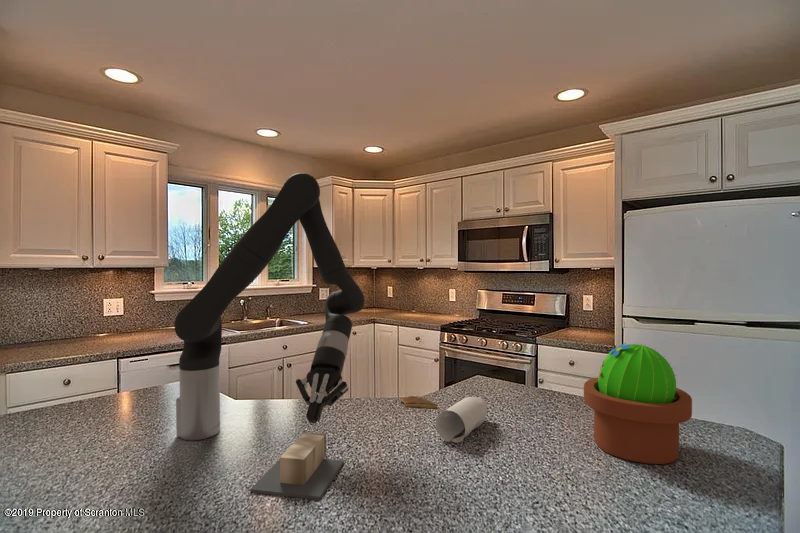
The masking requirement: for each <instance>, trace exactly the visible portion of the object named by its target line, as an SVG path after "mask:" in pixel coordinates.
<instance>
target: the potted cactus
mask: <svg viewBox="0 0 800 533" xmlns="http://www.w3.org/2000/svg"><path fill="white" fill-rule="evenodd" d="M653 348H654V347H653V346H652V347H649V346H647V345H643V343H640V344H639V343H636V344H635V343H632V344H631V343H630V344H627V343H626V342H624V343H622V344H620V345H619V346H617V347H612V349H611V350H610V351H609V352H607V354H608V355H607V356H606V357H605V359H603V361H602V365H600V371H598V373H599V374H598V377H593V378H590V379H588V380H586V381H585V382H584V383H583V401H584V403H585V404H586V405H587V406H588V407H589V408H591V409H592V410H593V440H594V442H595V444H596V446H598V449H601V450H602V451H604V452H605V453H607V454H609V455H611V456H614V457H616V458H620V459H622V460H626V461H631V462H635V463H640V464H649V465H666V464H671V463H673V462H676V460H677V459H678V458H679V455H680V424H682V423H685V422H688V421H690V419H691V418H692V416H693V399H692V397H691V395H690V394H689V393H688V392H686V391H684V390H683V389H680V388H679V387H677V384H678V382H677V380H676V374H675V371H674V370H673V369H676V368H675V367H672V366H671V363H669V362H668V360H667V359H666V358H665V356H663V355H662V354H660V353H659V352H658V351H656V349H657V348H656V347H655V348H654V349H653Z"/></svg>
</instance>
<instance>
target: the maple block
mask: <svg viewBox="0 0 800 533" xmlns="http://www.w3.org/2000/svg"><path fill="white" fill-rule="evenodd" d="M326 457H327V434H326V433H320V432H319V433H318V432H317V433H316V432H304V433H303V434H301V435H300V437H298V439H297V440H296V441H295V442H294V443H292V445H290V446H289V447H288V449H287V450H286V451H285V452H284V453H283V454H282V455H281V456H279V460H280V483H288V484H298V485H304V484H305V483H306V482H307V480H308V479H309V478H310V477H311V475H312V474H313V473H314V471H315V470H316V469H317V467H318V466H319V465H320V463H321V462H322V461H323V460H324V459H326Z"/></svg>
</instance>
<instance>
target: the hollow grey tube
mask: <svg viewBox="0 0 800 533" xmlns="http://www.w3.org/2000/svg"><path fill="white" fill-rule="evenodd" d="M488 405H489V404H488V403H487V401H486V400H485V399H483V398H482V397H481V396H479V397H476V396H467V397H464V398H463V399H461V400H460V401H457V402H456V403H454V404H453V405H452V406H449V407H448V408H447V409H445V410H442V411H441V412H438V414H437V417H435V422H434V424H435V427H436V431H437V433H438V435H439V436H440V438H441V439H442V440H444V441H445V442H453V444H456V443H460V442H462V441H463V440H464V438H465V437H467V436H469V435H470V434H471V432H472V431H473V430H475V429H476V428H479V427H480V426H481V425H482V424H483V423H484V422H485V420H486V419H485V418H486V416H487V414H488V410H487V409H488ZM462 431H464V433H463V434H462V435H461V436H459V437H458V436H457V435H459V434H461V433H462ZM455 436H457V437H455Z"/></svg>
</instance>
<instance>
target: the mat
mask: <svg viewBox="0 0 800 533" xmlns="http://www.w3.org/2000/svg"><path fill="white" fill-rule="evenodd" d="M344 462H345V460H339V459H331V458H324V460H323V461H322V462H321V463H320V465H319V466H318V467H317V469H316V470H315V471H314V473H313V474H312V475H311V477H310V478H309V479H308V480H307V482H306V483H305V484H304V485H298V484H288V483H280V459H278V460H277V461H276V462H275V464H273V466H271V467H270V468H269V470H268V471H267V472H266V473H265V474H264V475H262V477H261V478H259V479H258V481H257V482H256V483H255V484H253V486H252V487H251V488H250V489H249V491H250V493H252V494H253V493H254V494H264V495H272V496H280V497H289V498H290V497H291V498H298V499H300V498H301V499H307V500H308V499H309V500H317V501H318V500H319V501H320V500H321V499H322V497H323V496H324V494H325V493H326V491H327V490H328V488H329V487H330V485H331V484H332V482H333V481H334V479H335V477H336V476H337V474H338V473H339V471H340V469H342V466H343V465H344Z"/></svg>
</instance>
